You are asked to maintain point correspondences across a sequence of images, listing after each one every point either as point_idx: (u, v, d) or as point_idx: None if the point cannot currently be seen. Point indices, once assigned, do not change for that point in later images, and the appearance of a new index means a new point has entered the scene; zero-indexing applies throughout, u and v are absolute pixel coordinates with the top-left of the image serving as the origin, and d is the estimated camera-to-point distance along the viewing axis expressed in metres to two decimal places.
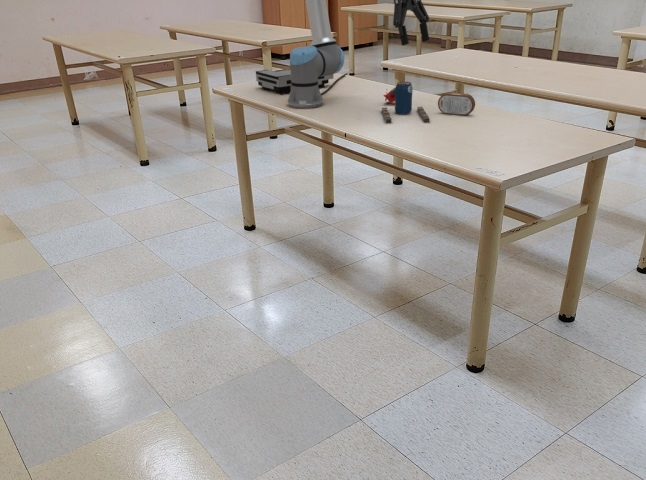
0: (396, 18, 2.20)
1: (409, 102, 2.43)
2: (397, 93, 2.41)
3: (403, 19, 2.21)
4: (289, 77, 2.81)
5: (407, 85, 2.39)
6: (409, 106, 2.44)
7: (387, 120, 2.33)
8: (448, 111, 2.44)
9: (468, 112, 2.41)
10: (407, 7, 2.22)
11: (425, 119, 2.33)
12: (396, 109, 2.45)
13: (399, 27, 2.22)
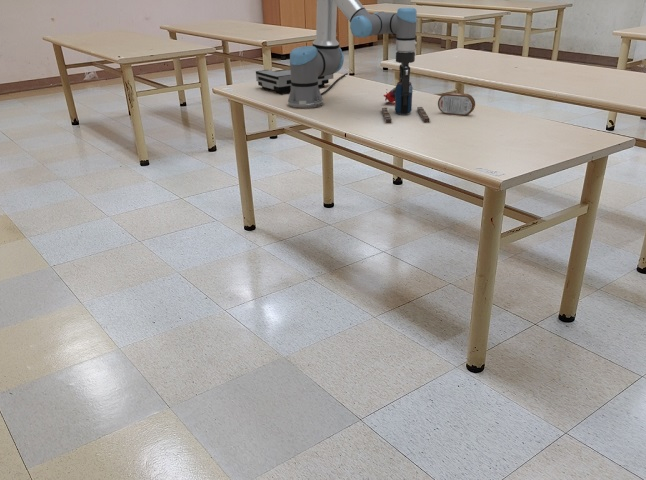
0: (406, 90, 2.36)
1: (409, 102, 2.43)
2: (397, 93, 2.41)
3: None
4: (289, 77, 2.81)
5: None
6: (409, 106, 2.44)
7: (387, 120, 2.33)
8: (448, 111, 2.44)
9: (468, 112, 2.41)
10: None
11: (425, 119, 2.33)
12: (396, 109, 2.45)
13: (405, 97, 2.39)
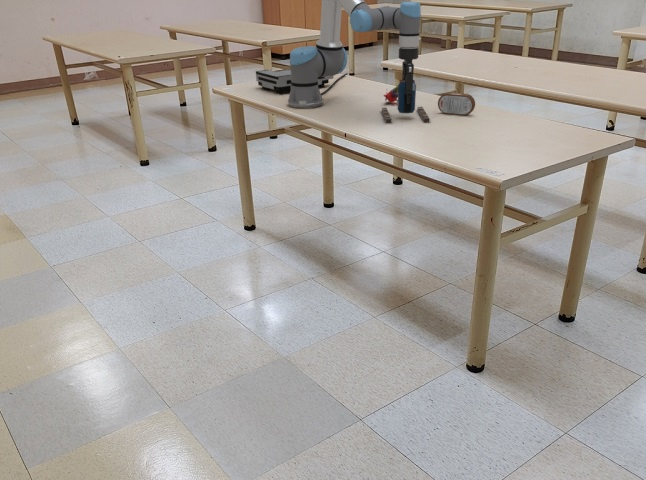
0: (410, 88, 2.27)
1: (412, 100, 2.33)
2: (400, 91, 2.32)
3: None
4: (289, 77, 2.81)
5: None
6: (412, 105, 2.34)
7: (387, 120, 2.33)
8: (448, 111, 2.44)
9: (468, 112, 2.41)
10: None
11: (425, 119, 2.33)
12: (399, 108, 2.36)
13: (408, 96, 2.30)
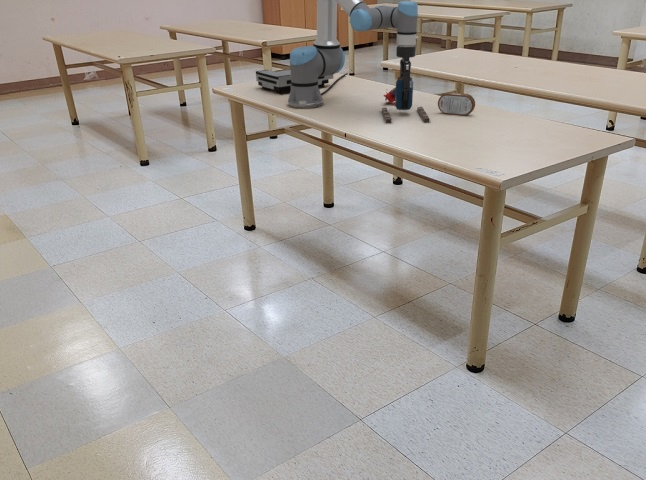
0: (407, 85, 2.33)
1: (410, 97, 2.39)
2: (398, 88, 2.38)
3: None
4: (289, 77, 2.81)
5: None
6: (410, 101, 2.40)
7: (387, 120, 2.33)
8: (448, 111, 2.44)
9: (468, 112, 2.41)
10: None
11: (425, 119, 2.33)
12: (396, 104, 2.42)
13: (405, 93, 2.36)
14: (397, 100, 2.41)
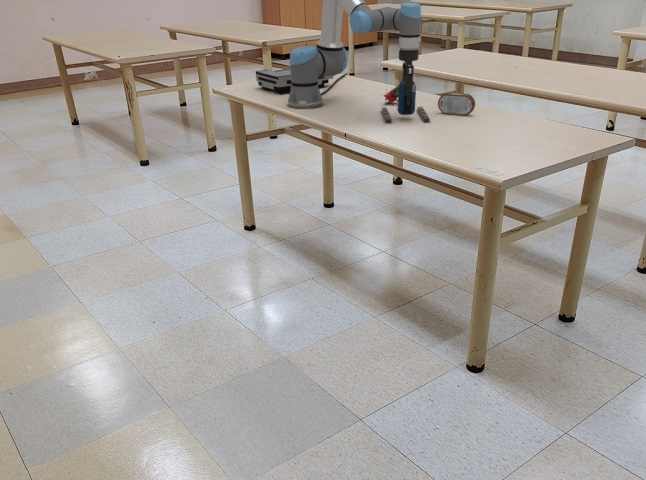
0: (410, 90, 2.26)
1: (412, 102, 2.32)
2: (400, 92, 2.31)
3: None
4: (289, 77, 2.81)
5: None
6: (412, 106, 2.33)
7: (387, 120, 2.33)
8: (448, 111, 2.44)
9: (468, 112, 2.41)
10: None
11: (425, 119, 2.33)
12: (399, 109, 2.35)
13: (408, 97, 2.29)
14: (399, 105, 2.34)
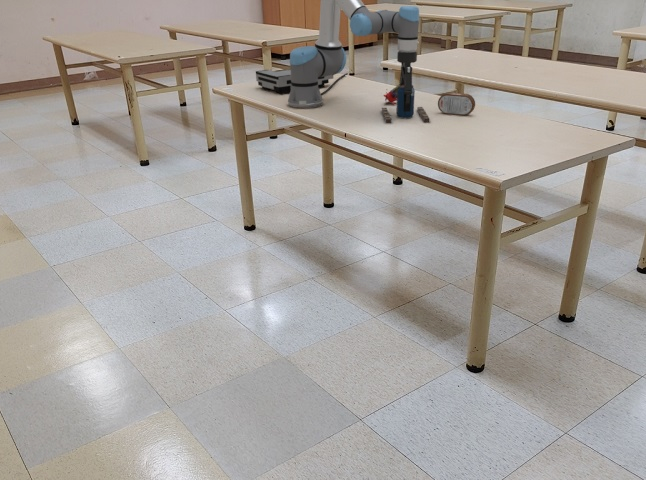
0: (409, 87, 2.28)
1: (411, 105, 2.37)
2: (399, 96, 2.36)
3: None
4: (289, 77, 2.81)
5: None
6: (411, 109, 2.38)
7: (387, 120, 2.33)
8: (448, 111, 2.44)
9: (468, 112, 2.41)
10: None
11: (425, 119, 2.33)
12: (398, 112, 2.40)
13: (408, 95, 2.30)
14: (398, 108, 2.39)
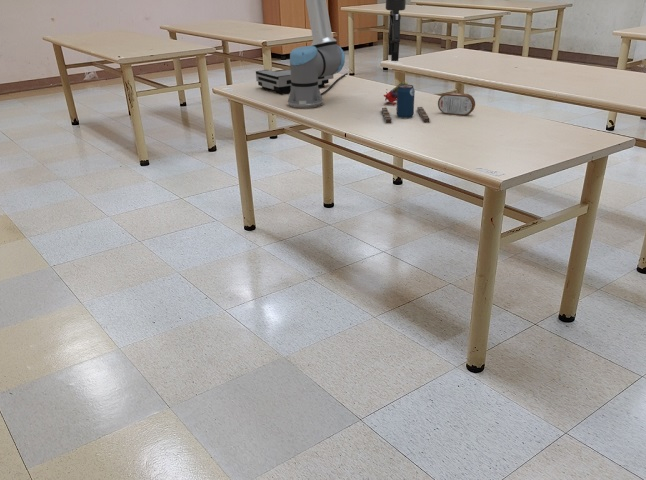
0: (397, 35, 2.24)
1: (411, 105, 2.37)
2: (399, 96, 2.36)
3: None
4: (289, 77, 2.81)
5: (409, 88, 2.34)
6: (411, 109, 2.38)
7: (387, 120, 2.33)
8: (448, 111, 2.44)
9: (468, 112, 2.41)
10: None
11: (425, 119, 2.33)
12: (398, 112, 2.40)
13: (396, 44, 2.27)
14: (398, 108, 2.39)
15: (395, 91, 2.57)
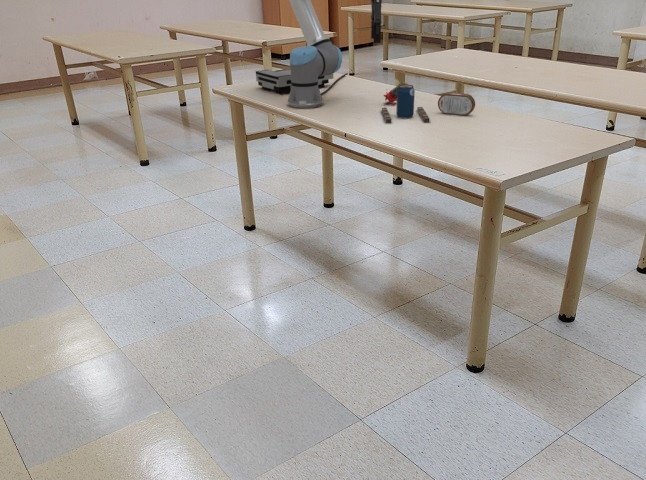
0: (378, 17, 2.30)
1: (411, 105, 2.37)
2: (399, 96, 2.36)
3: None
4: (289, 77, 2.81)
5: (409, 88, 2.34)
6: (411, 109, 2.38)
7: (387, 120, 2.33)
8: (448, 111, 2.44)
9: (468, 112, 2.41)
10: None
11: (425, 119, 2.33)
12: (398, 112, 2.40)
13: (377, 26, 2.33)
14: (398, 108, 2.39)
15: (395, 91, 2.57)
